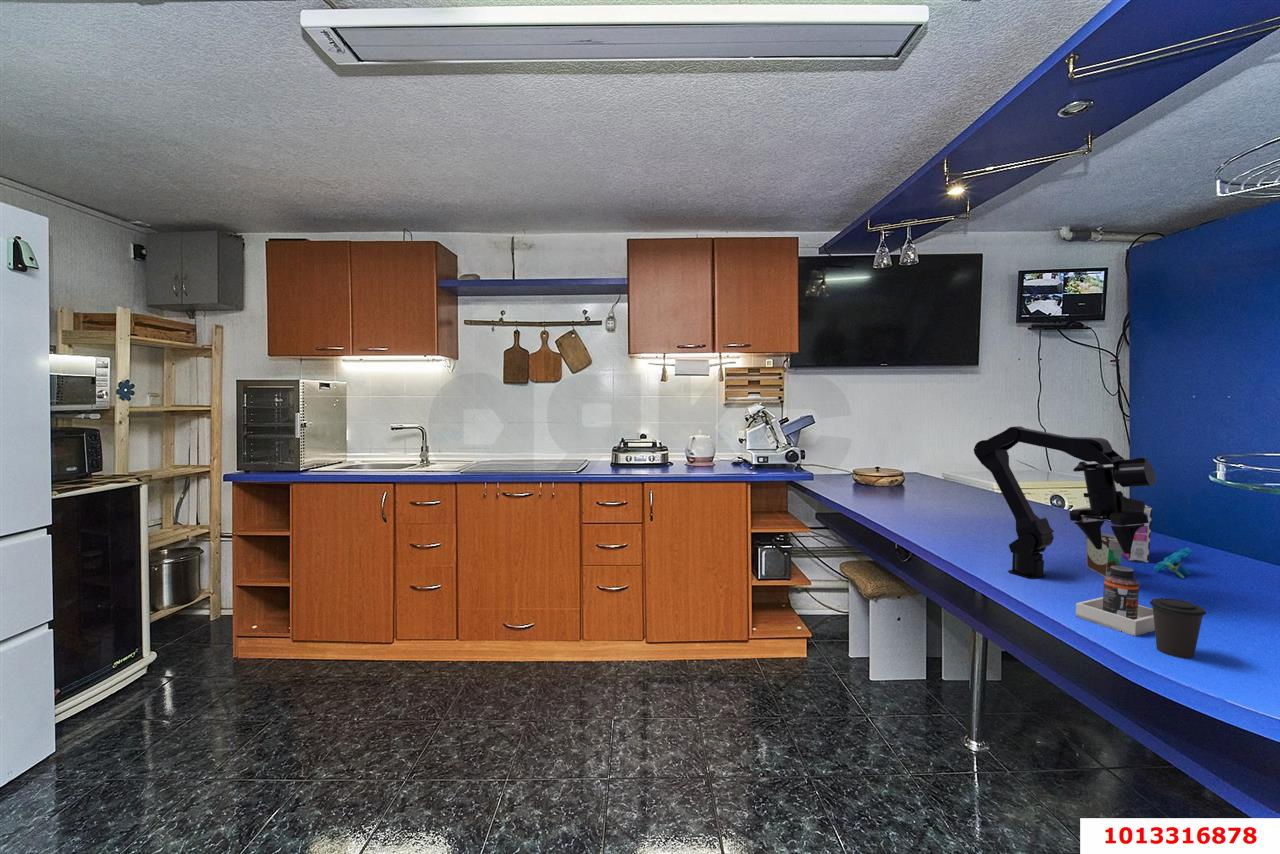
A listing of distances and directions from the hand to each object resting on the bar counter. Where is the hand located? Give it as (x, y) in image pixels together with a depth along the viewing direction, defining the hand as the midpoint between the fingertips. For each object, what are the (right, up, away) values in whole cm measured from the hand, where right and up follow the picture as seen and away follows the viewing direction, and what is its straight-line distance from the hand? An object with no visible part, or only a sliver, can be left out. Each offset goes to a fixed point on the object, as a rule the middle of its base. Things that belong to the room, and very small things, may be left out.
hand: (1112, 551), depth 143 cm
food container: (+13, -10, +18) cm, 25 cm away
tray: (-12, -12, -16) cm, 23 cm away
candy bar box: (+32, -9, +32) cm, 47 cm away
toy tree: (+30, -10, +17) cm, 36 cm away
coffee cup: (-13, -13, -31) cm, 36 cm away
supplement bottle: (-12, -12, -16) cm, 23 cm away
